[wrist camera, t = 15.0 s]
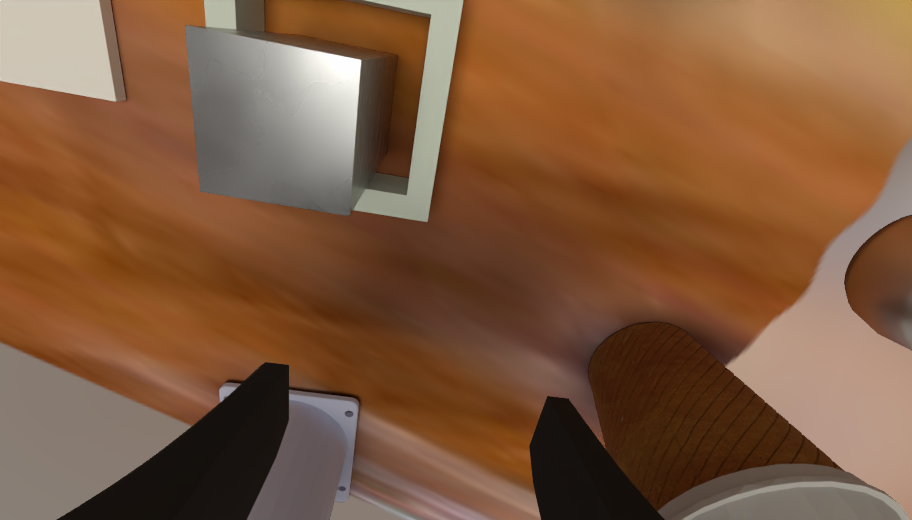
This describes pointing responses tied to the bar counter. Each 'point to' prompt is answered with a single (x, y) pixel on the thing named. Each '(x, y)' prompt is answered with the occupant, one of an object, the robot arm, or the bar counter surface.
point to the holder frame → (242, 7)
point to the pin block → (288, 116)
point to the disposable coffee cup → (713, 438)
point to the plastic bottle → (884, 282)
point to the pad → (61, 47)
